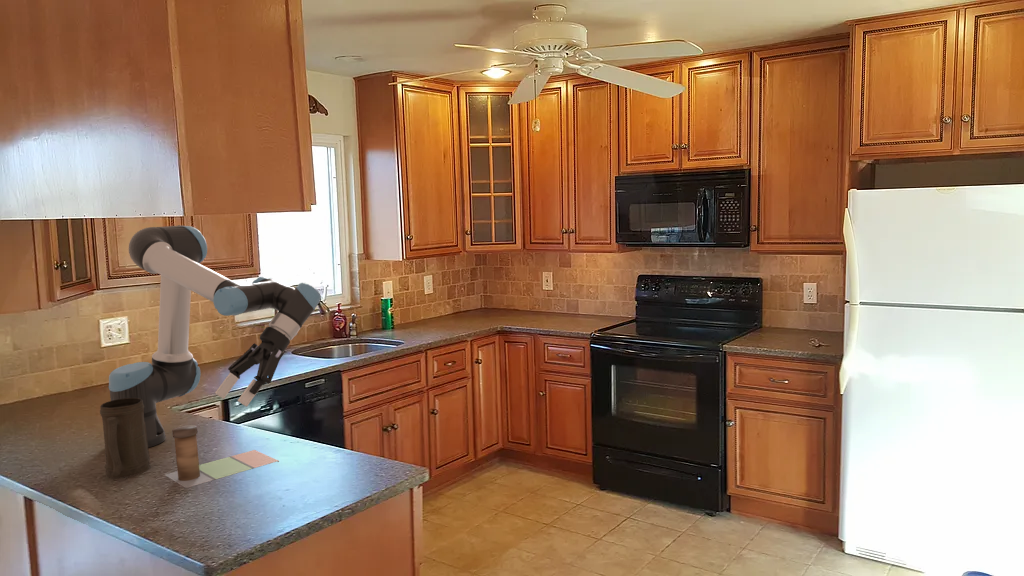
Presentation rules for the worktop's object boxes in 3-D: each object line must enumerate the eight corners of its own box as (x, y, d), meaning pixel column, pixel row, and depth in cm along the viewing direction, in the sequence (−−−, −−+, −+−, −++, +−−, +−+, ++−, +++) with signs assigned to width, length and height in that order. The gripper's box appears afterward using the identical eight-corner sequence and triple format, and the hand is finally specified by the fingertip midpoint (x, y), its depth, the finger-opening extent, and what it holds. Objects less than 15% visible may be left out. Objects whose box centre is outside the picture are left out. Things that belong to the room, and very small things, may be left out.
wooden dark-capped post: (173, 477, 180) (168, 429, 179) (196, 471, 184) (191, 423, 183) (182, 483, 176) (177, 433, 175) (204, 476, 180) (200, 427, 179)
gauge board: (164, 479, 183) (164, 474, 183) (255, 454, 200) (254, 449, 200) (186, 493, 173) (185, 487, 173) (279, 465, 190) (278, 460, 190)
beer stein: (109, 471, 191) (100, 399, 188) (154, 464, 195) (146, 393, 191) (99, 495, 177) (89, 417, 173) (148, 487, 181) (139, 411, 177)
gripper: (312, 345, 189) (263, 415, 180) (267, 337, 206) (220, 400, 197) (292, 329, 184) (241, 398, 175) (248, 322, 202) (199, 385, 193)
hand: (230, 399), depth 186 cm, fingers open, 13 cm apart
